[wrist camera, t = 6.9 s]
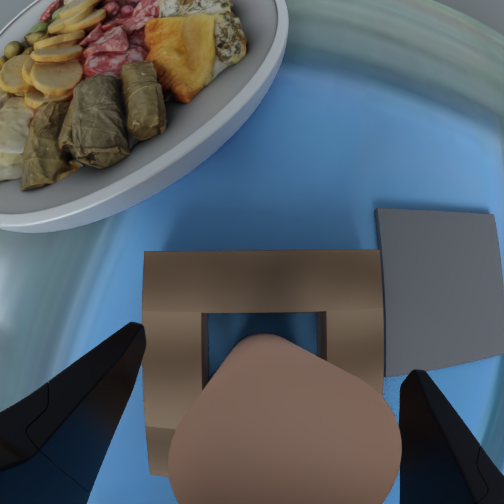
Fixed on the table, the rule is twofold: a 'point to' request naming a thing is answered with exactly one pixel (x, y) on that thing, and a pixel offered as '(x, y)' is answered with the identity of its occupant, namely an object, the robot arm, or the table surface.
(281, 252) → the socket block
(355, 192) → the table surface
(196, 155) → the bowl
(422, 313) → the mat
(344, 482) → the dowel
